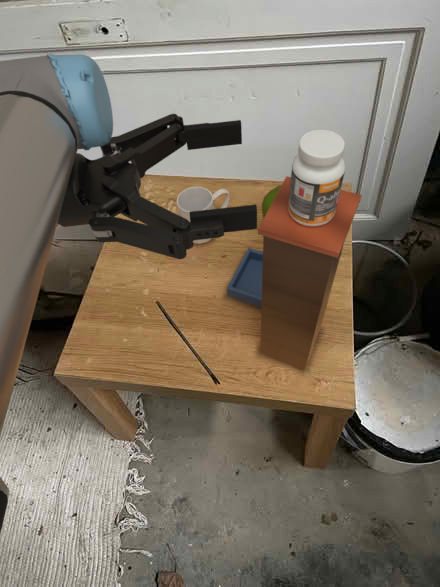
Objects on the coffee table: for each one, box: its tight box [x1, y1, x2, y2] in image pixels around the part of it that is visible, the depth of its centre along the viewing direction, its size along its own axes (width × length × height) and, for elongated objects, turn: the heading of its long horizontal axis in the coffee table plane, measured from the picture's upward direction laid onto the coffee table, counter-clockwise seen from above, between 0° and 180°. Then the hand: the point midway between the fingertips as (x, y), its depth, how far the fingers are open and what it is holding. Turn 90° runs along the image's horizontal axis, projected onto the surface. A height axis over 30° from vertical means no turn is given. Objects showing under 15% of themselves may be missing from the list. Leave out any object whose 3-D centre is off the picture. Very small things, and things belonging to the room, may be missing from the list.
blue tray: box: [226, 247, 263, 308], centre depth 88 cm, size 12×12×3 cm
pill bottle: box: [288, 129, 346, 226], centre depth 47 cm, size 6×6×10 cm
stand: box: [257, 176, 363, 371], centre depth 66 cm, size 10×10×36 cm
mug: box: [176, 186, 231, 245], centre depth 95 cm, size 12×8×10 cm, turn 117°
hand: (248, 171), depth 45 cm, fingers open, 13 cm apart
